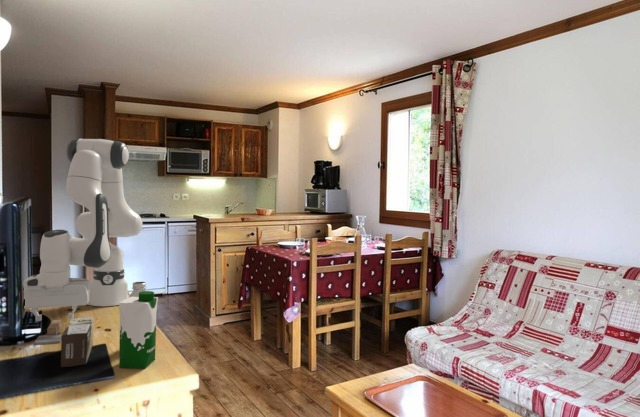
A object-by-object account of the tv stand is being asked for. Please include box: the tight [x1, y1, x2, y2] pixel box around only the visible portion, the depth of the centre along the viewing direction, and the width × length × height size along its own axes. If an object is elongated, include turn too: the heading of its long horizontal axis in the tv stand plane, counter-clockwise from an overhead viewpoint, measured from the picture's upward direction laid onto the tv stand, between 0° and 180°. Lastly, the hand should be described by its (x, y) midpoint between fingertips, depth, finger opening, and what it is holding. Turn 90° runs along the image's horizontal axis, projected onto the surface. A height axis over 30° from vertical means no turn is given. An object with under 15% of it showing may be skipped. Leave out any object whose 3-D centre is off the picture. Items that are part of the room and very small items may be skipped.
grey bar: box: [33, 319, 63, 346], centre depth 147 cm, size 17×7×3 cm, turn 21°
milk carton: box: [118, 290, 159, 370], centre depth 125 cm, size 9×9×20 cm
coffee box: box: [60, 316, 95, 368], centre depth 130 cm, size 9×6×16 cm
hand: (54, 319), depth 152 cm, fingers open, 8 cm apart
